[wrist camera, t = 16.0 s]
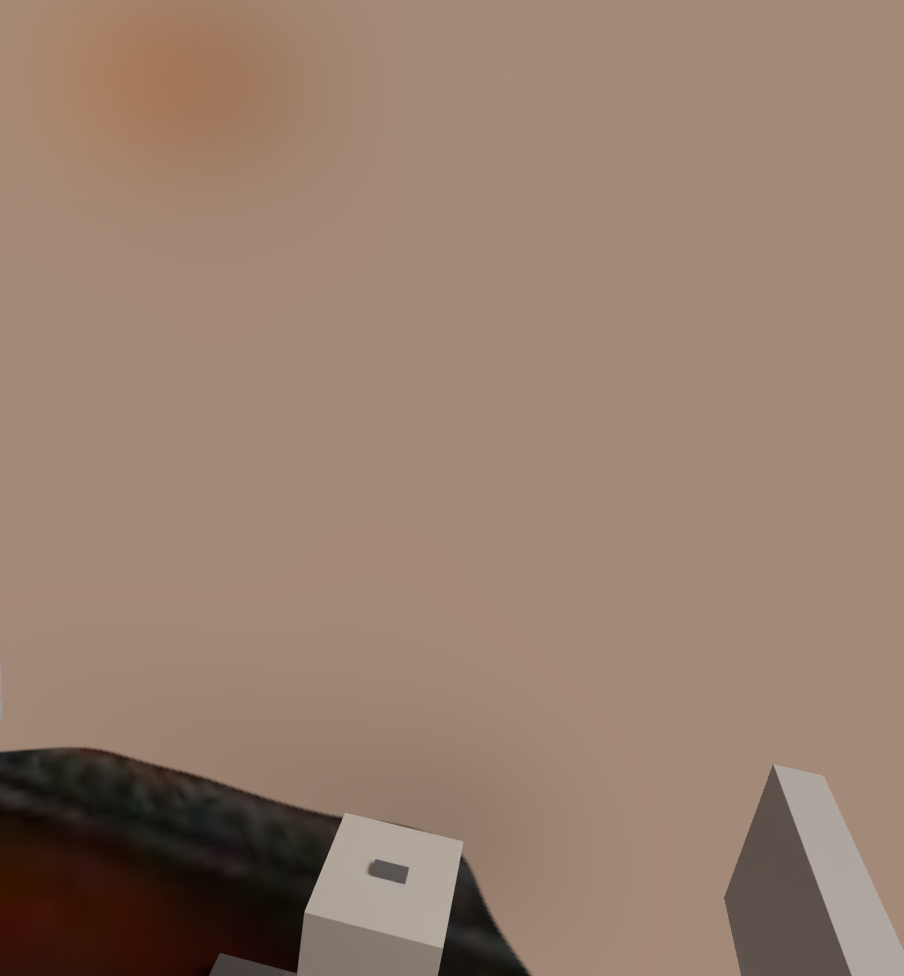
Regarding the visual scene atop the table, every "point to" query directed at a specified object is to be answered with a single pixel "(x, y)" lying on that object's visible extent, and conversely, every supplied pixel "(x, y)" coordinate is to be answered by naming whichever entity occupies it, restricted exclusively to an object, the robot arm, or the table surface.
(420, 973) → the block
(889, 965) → the robot arm
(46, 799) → the table surface
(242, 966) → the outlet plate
